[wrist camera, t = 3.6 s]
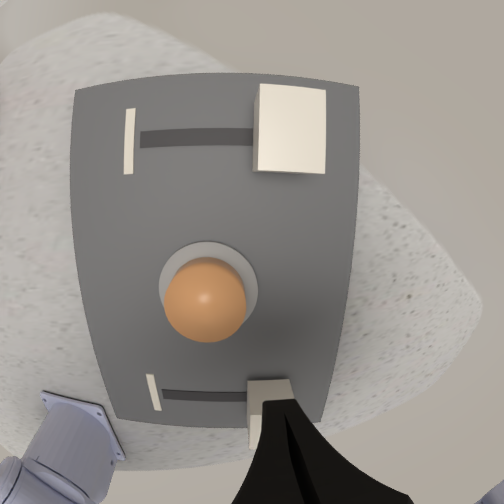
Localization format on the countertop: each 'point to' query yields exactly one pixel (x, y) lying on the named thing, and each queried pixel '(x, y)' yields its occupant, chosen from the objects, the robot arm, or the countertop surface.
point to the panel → (208, 242)
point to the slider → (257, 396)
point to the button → (206, 300)
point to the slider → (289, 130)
